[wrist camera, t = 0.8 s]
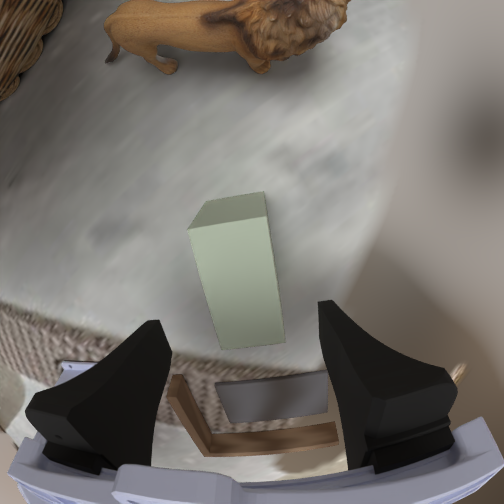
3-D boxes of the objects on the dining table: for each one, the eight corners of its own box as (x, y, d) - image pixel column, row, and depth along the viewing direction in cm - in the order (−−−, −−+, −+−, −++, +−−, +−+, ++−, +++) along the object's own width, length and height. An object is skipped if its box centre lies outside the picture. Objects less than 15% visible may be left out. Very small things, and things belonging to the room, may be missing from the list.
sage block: (229, 299, 23) (221, 350, 18) (206, 201, 20) (187, 229, 15) (279, 292, 23) (285, 342, 18) (263, 191, 20) (266, 216, 14)
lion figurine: (316, 10, 15) (353, -54, 6) (322, 77, 17) (371, 43, 8) (109, 34, 15) (36, 0, 7) (110, 98, 17) (28, 91, 9)
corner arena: (206, 437, 32) (204, 456, 29) (172, 374, 27) (166, 396, 24) (334, 425, 31) (338, 444, 28) (337, 357, 26) (344, 379, 23)
